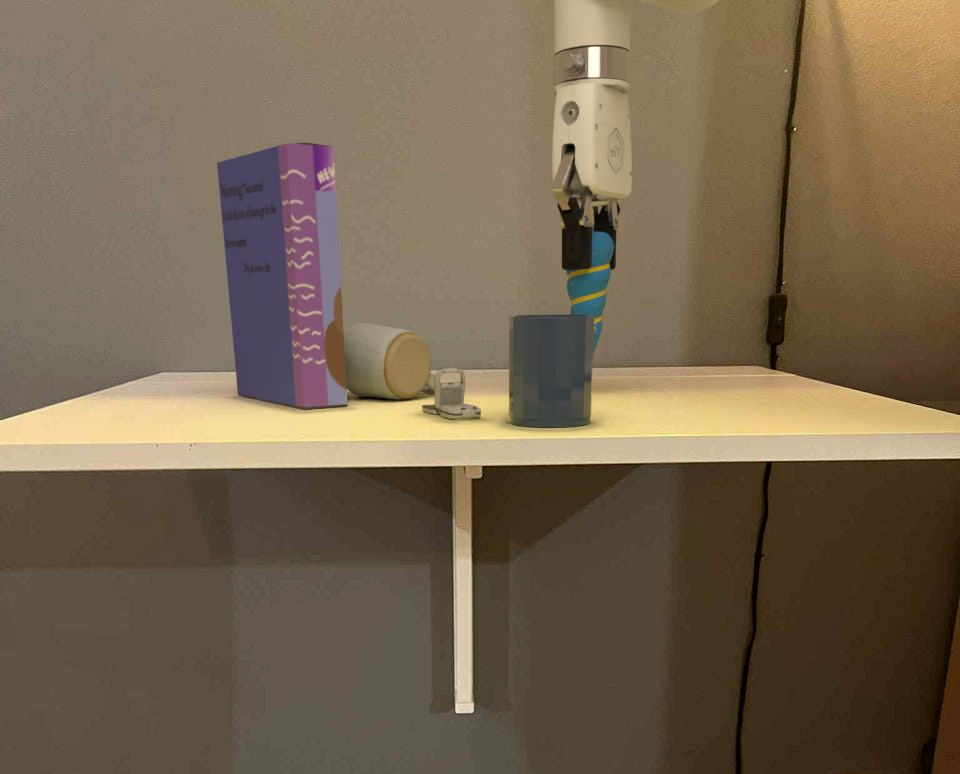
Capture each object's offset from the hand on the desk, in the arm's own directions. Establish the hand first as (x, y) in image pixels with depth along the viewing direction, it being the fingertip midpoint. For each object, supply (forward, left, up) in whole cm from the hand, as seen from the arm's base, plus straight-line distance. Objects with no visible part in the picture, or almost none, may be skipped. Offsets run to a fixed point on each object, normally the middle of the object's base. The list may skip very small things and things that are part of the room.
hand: (589, 267), depth 104 cm
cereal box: (+25, +20, -13) cm, 35 cm away
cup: (-7, +22, -13) cm, 27 cm away
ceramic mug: (+17, +12, -13) cm, 25 cm away
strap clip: (+3, +22, -13) cm, 26 cm away
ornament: (0, 0, -10) cm, 10 cm away
